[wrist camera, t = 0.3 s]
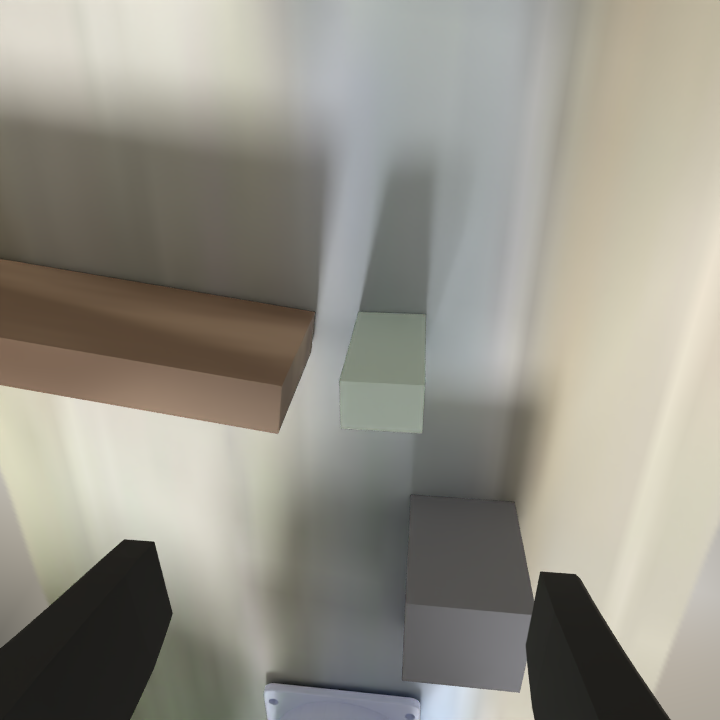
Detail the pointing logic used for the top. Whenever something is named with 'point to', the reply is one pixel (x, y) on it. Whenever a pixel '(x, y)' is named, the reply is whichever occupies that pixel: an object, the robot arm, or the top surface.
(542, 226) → the top surface
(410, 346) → the pale green rectangular bar
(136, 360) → the brown rectangular bar
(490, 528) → the grey notched block
